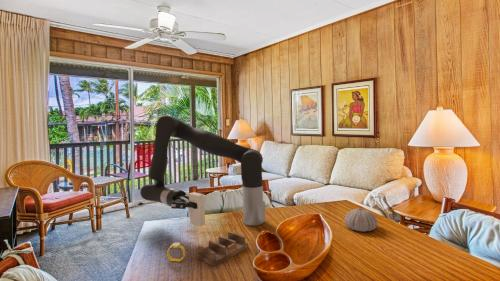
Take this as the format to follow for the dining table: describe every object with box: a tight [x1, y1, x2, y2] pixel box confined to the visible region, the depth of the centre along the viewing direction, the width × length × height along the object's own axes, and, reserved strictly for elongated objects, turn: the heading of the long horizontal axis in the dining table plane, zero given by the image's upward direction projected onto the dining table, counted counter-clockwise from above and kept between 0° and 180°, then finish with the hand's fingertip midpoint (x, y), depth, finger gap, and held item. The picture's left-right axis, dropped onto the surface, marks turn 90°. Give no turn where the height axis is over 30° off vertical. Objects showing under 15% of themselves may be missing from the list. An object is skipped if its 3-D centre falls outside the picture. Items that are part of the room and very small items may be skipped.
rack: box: [194, 231, 249, 268], centre depth 99 cm, size 10×17×4 cm, turn 140°
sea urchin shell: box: [344, 208, 378, 232], centre depth 118 cm, size 13×14×8 cm
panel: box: [188, 191, 206, 228], centre depth 107 cm, size 6×2×12 cm, turn 50°
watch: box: [166, 241, 186, 263], centre depth 94 cm, size 6×3×6 cm, turn 89°
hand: (199, 205), depth 106 cm, fingers closed on panel, 2 cm apart
